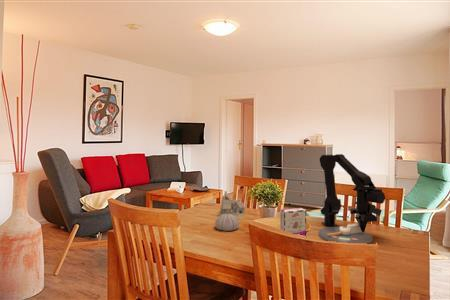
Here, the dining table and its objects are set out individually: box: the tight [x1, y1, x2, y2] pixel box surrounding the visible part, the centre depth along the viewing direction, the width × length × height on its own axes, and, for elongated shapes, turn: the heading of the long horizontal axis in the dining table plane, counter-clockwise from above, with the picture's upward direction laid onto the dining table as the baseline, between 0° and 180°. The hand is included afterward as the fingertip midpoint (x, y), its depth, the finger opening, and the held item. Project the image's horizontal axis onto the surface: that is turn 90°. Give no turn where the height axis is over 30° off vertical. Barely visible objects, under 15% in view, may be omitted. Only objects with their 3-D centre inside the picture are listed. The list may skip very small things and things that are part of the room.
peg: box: [327, 222, 366, 236], centre depth 154 cm, size 22×5×4 cm, turn 111°
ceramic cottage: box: [218, 190, 245, 218], centre depth 195 cm, size 16×16×15 cm
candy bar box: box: [279, 207, 307, 237], centre depth 143 cm, size 11×5×16 cm, turn 105°
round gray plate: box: [318, 226, 373, 245], centre depth 154 cm, size 25×25×2 cm
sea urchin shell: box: [214, 213, 240, 232], centre depth 168 cm, size 13×14×8 cm
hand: (363, 231), depth 154 cm, fingers closed
